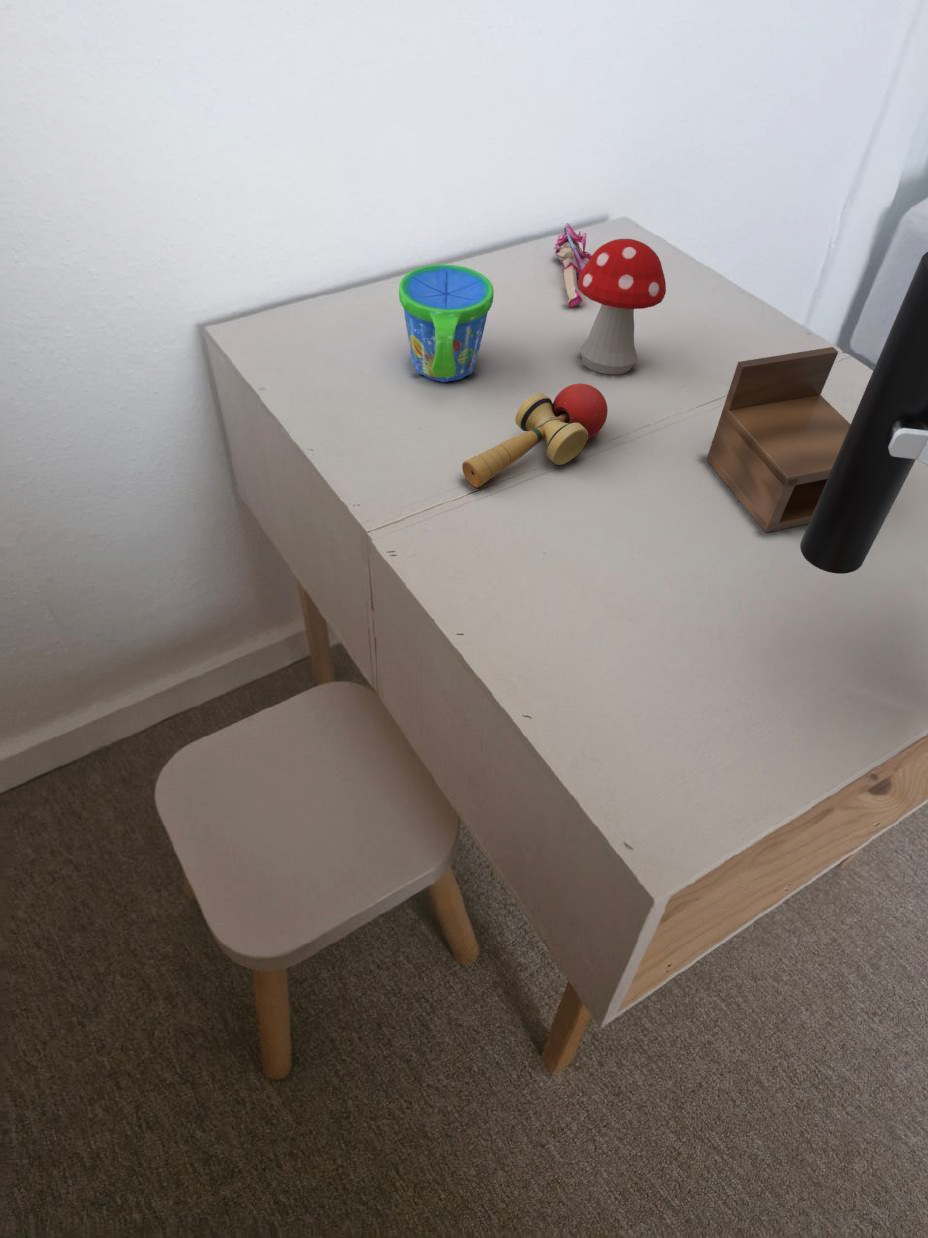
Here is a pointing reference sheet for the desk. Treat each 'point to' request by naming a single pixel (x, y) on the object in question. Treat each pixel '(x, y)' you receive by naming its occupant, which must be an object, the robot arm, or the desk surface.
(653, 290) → the decorative mushroom
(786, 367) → the shelf
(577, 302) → the toy
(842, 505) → the cylinder
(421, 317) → the snack cup
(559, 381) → the desk surface
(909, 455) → the robot arm
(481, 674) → the desk surface
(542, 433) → the kendama
